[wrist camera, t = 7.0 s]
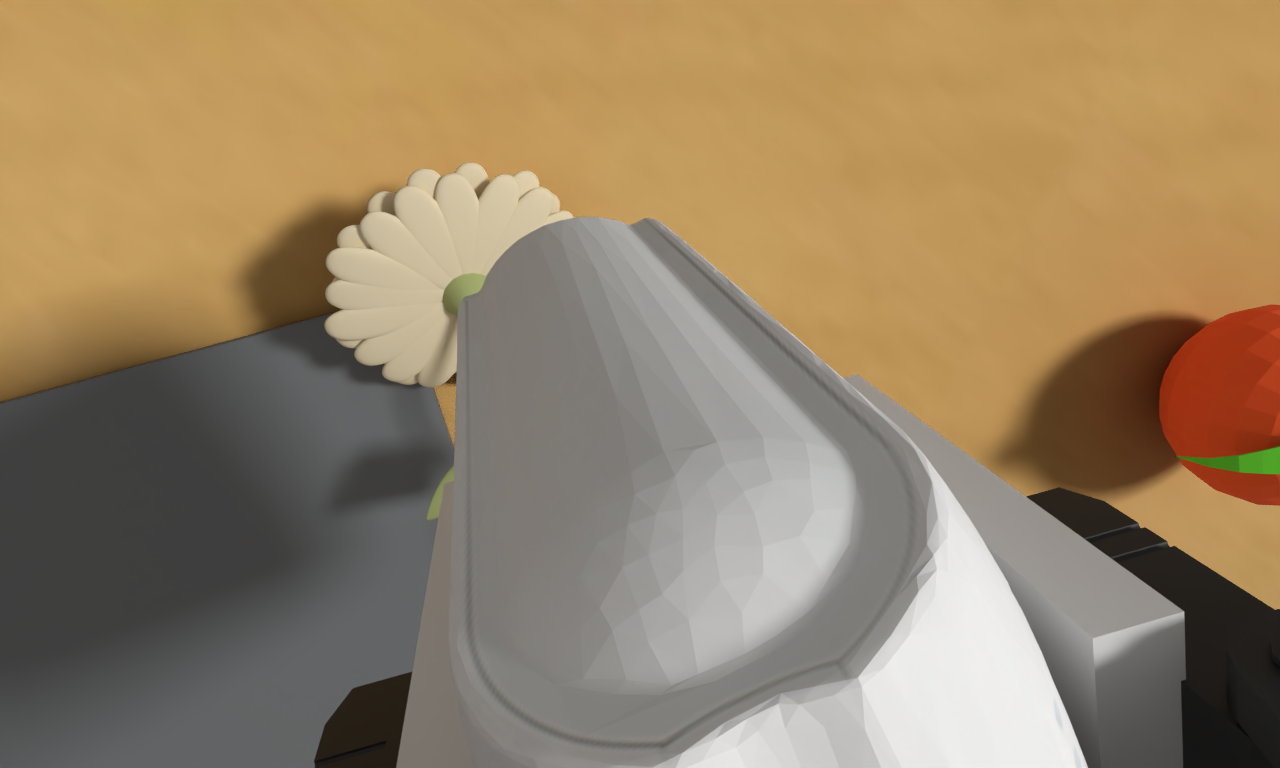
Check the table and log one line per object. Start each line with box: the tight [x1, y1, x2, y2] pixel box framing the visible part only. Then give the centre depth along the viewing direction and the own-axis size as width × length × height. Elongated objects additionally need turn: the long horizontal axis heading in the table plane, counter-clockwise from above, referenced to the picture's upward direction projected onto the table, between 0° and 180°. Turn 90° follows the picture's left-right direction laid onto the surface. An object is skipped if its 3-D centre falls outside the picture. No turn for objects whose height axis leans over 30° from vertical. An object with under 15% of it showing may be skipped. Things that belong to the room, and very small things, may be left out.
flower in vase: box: [324, 163, 574, 521], centre depth 27 cm, size 13×11×25 cm
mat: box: [0, 311, 454, 768], centre depth 30 cm, size 20×16×1 cm
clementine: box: [1159, 305, 1280, 505], centre depth 30 cm, size 8×7×7 cm
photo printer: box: [448, 217, 1088, 768], centre depth 11 cm, size 10×4×12 cm, turn 22°
